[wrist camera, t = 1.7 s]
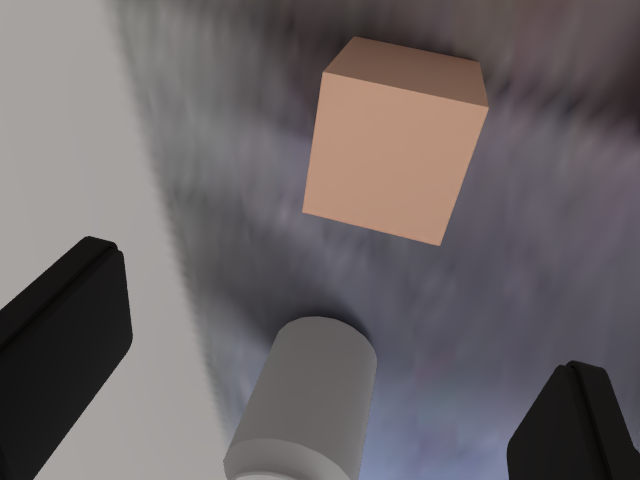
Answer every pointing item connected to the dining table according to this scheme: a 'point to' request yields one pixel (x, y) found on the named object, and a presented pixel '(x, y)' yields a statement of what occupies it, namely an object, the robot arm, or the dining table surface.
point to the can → (307, 406)
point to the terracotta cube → (394, 138)
